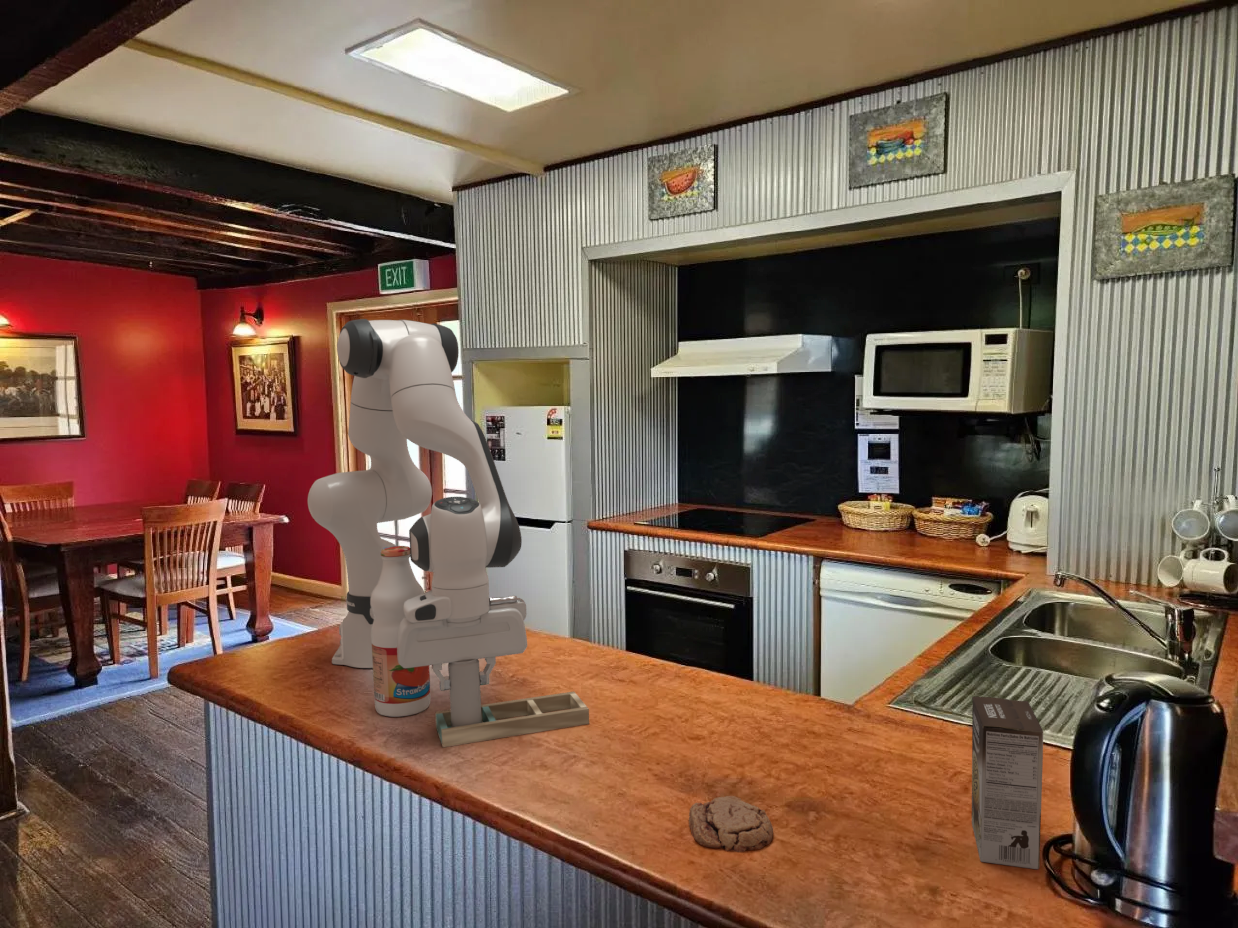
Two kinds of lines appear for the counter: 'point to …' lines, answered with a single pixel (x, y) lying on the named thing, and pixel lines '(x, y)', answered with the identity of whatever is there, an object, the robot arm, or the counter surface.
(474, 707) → the beverage can
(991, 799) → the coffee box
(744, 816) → the cookie
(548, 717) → the rack
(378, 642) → the fruit juice
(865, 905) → the counter surface
